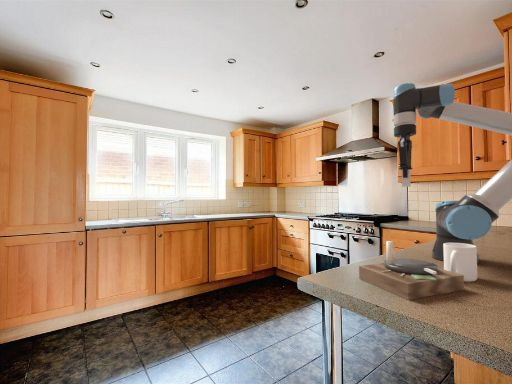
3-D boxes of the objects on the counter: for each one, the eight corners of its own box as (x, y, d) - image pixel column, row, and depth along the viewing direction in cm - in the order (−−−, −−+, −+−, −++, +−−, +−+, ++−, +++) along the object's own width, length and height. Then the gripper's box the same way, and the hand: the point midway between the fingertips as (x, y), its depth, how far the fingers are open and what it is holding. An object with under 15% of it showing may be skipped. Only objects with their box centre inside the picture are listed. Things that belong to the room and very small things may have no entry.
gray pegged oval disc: (375, 262, 86) (375, 238, 86) (417, 261, 87) (417, 237, 87) (408, 279, 69) (408, 248, 69) (461, 278, 69) (460, 247, 69)
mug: (469, 286, 75) (468, 250, 75) (435, 279, 81) (435, 246, 81) (480, 278, 82) (479, 245, 82) (449, 272, 89) (448, 241, 89)
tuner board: (408, 272, 90) (407, 259, 90) (466, 290, 72) (465, 274, 72) (359, 278, 83) (359, 265, 83) (409, 300, 66) (409, 283, 66)
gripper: (397, 130, 109) (399, 187, 109) (389, 124, 99) (391, 186, 99) (418, 127, 105) (420, 186, 104) (412, 120, 95) (414, 185, 94)
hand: (406, 186), depth 102 cm, fingers closed
